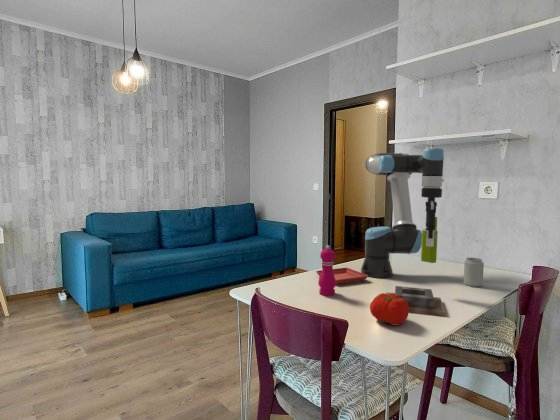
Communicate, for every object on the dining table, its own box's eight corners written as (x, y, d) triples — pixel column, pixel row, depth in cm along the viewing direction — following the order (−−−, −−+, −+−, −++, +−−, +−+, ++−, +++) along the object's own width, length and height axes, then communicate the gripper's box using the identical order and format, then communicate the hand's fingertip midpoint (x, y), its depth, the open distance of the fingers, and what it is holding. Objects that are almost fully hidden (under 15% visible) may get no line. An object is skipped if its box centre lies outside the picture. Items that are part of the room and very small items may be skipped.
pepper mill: (324, 297, 142) (325, 247, 140) (314, 292, 148) (315, 244, 147) (339, 294, 145) (340, 246, 144) (329, 290, 152) (329, 243, 150)
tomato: (365, 314, 124) (365, 290, 124) (400, 314, 125) (401, 290, 124) (375, 329, 112) (376, 302, 111) (415, 329, 112) (416, 302, 111)
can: (466, 281, 165) (468, 256, 164) (484, 285, 160) (486, 258, 159) (461, 285, 160) (462, 258, 159) (479, 288, 155) (480, 261, 154)
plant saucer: (315, 277, 173) (315, 270, 173) (346, 273, 181) (346, 266, 181) (335, 287, 157) (335, 279, 157) (369, 282, 164) (369, 275, 164)
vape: (434, 263, 142) (436, 213, 141) (419, 260, 147) (421, 212, 145) (438, 261, 145) (440, 212, 143) (423, 259, 149) (425, 211, 147)
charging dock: (384, 309, 129) (384, 295, 129) (386, 295, 144) (386, 283, 144) (445, 316, 123) (445, 302, 122) (440, 301, 138) (440, 288, 137)
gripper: (444, 188, 133) (441, 249, 136) (439, 187, 150) (437, 241, 153) (422, 187, 136) (420, 248, 138) (420, 186, 153) (418, 240, 155)
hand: (429, 244), depth 145 cm, fingers closed on vape, 5 cm apart
